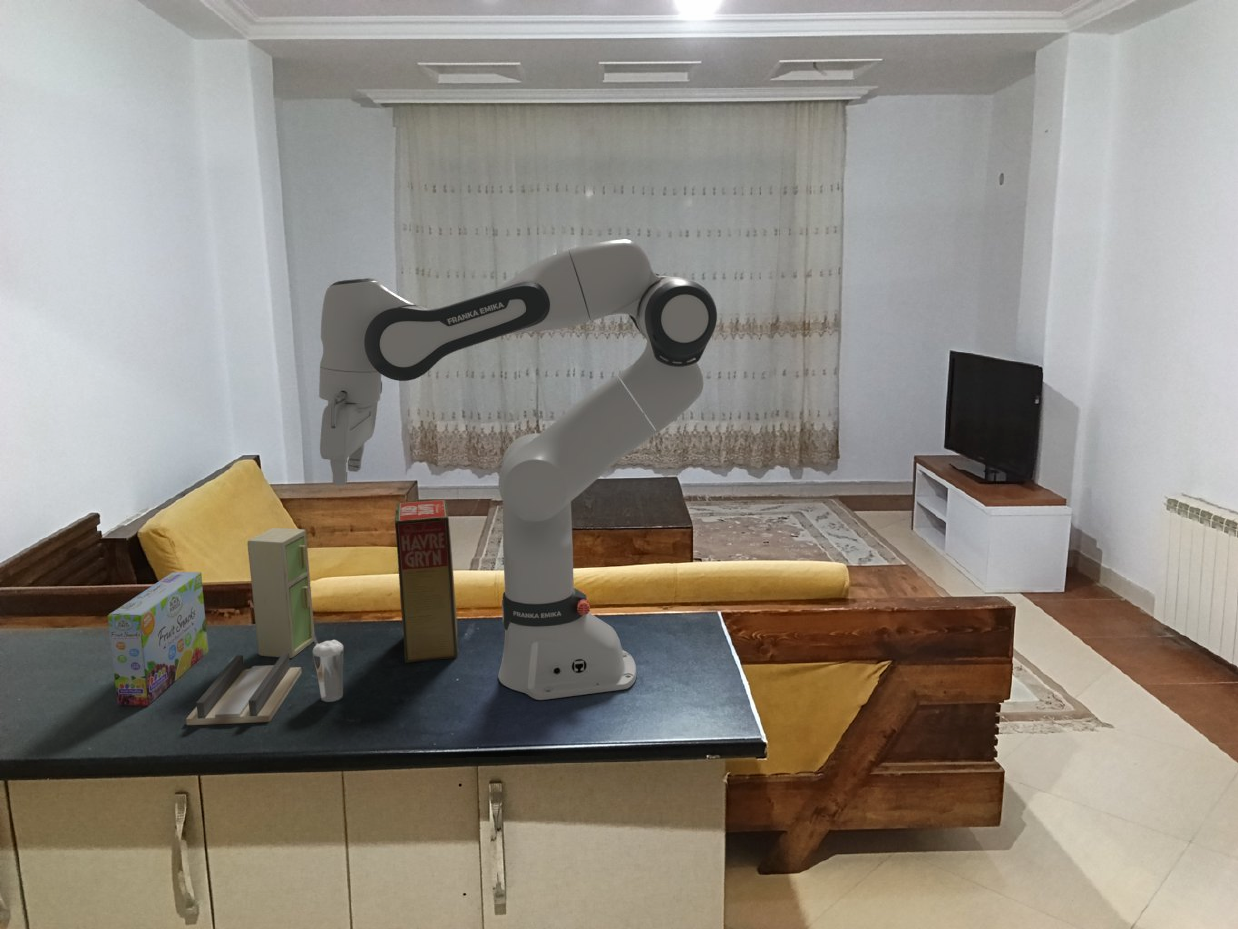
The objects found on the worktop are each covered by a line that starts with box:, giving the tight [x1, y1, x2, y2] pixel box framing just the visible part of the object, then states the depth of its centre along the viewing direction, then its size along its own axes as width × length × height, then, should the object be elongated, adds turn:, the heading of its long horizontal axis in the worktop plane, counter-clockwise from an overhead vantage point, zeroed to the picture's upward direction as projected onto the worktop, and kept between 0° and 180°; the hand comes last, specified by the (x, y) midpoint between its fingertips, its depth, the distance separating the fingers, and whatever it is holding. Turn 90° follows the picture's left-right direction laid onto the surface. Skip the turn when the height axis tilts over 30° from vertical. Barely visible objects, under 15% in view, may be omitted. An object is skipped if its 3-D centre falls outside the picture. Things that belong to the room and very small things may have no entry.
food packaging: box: [394, 499, 459, 663], centre depth 160 cm, size 13×9×25 cm
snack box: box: [107, 571, 209, 707], centre depth 150 cm, size 21×6×15 cm, turn 0°
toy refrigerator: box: [247, 527, 316, 659], centre depth 160 cm, size 8×7×21 cm
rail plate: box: [185, 653, 302, 726], centre depth 143 cm, size 12×17×4 cm
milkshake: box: [312, 634, 344, 703], centre depth 143 cm, size 4×5×10 cm
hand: (347, 477), depth 140 cm, fingers open, 8 cm apart
